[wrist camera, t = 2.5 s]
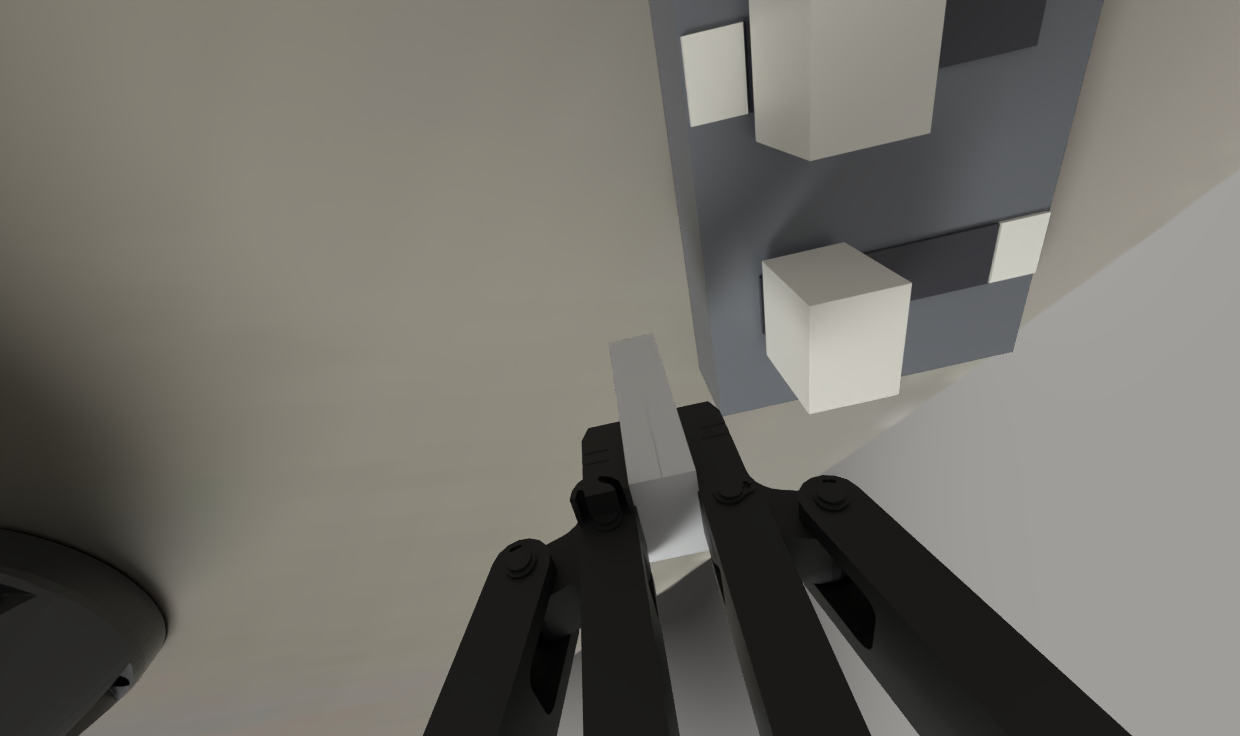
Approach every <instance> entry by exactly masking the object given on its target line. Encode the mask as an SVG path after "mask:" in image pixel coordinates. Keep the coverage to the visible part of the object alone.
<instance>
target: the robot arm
mask: <svg viewBox="0 0 1240 736" xmlns="http://www.w3.org/2000/svg"><path fill="white" fill-rule="evenodd" d="M609 349H610V356H611V363H612V370H613V377H614V384H615V391H616V398H617V406H618V413H619V420H620V422H615V423H610V424H606V425H601V426H596V427H592V428H588V430H587V432H586V434H585V436H584V438H583V440H582V456H583V457H582V465H583V480H581V481H580V482H579V483H578V484H577V485H576V486H575V488H574V489H573V490H572V493H571V497H570V502H571V505H572V508H573V510H574V513H575V516H576V519H577V521H578V523H577V525H576V526H575V527H574V528H573V529H572V530H571V531H570V532H568V533H567V534H565V535H564V536H562V537H560V538H558V539H557V540H555V541H553V542H551V543H549V544H547V545H545V544H544V543H543V542H541V541H540V540H536V539H530V538H529V539H523V540H518V541H516V542H514V543H512V544H510V545H508V546H507V547H506V548H505V549H504V550H503V551H502V552H500V553H499V555H498V556H497V558H496V560H495V561H494V563H493V565H492V567H491V570H490V572H489V575H488V577H487V580H486V582H485V584H484V587H483V589H482V592H481V594H480V597H479V599H478V602H477V604H476V607H475V609H474V611H473V614H472V616H471V619H470V621H469V624H468V626H467V629H466V631H465V634H464V636H463V638H462V641H461V643H460V646H459V648H458V651H457V653H456V656H455V658H454V660H453V663H452V665H451V668H450V670H449V673H448V675H447V678H446V680H445V683H444V685H443V687H442V690H441V692H440V695H439V697H438V700H437V702H436V705H435V707H434V710H433V712H432V714H431V717H430V719H429V722H428V724H427V727H426V729H425V732H424V734H423V736H557V732H558V727H559V723H560V718H561V714H562V709H563V704H564V700H565V695H566V690H567V685H568V681H569V676H570V672H571V667H572V662H573V658H574V653H575V649H576V644H577V639H578V635H579V629H580V628H581V646H582V688H583V689H582V691H583V736H680V734H679V728H678V722H677V716H676V710H675V704H674V698H673V693H672V686H671V680H670V674H669V668H668V662H667V656H666V650H665V644H664V638H663V632H662V627H661V620H660V614H659V608H658V602H657V596H656V590H655V584H654V580H653V576H652V573H651V568H650V562H654V561H659V560H664V559H669V558H673V557H678V556H683V555H688V554H693V553H698V552H702V551H707V550H709V551H710V555H711V559H712V565H713V572H714V578H715V584H716V589H719V592H720V596H721V599H722V603H723V606H724V610H725V613H726V617H727V620H728V624H729V627H730V631H731V635H732V638H733V642H734V645H735V649H736V652H737V656H738V659H739V663H740V667H741V670H742V674H743V677H744V681H745V684H746V688H747V691H748V695H749V698H750V702H751V705H752V709H753V713H754V716H755V720H756V723H757V727H758V730H759V734H760V736H871V734H870V732H869V730H868V728H867V725H866V723H865V721H864V719H863V716H862V714H861V712H860V710H859V708H858V706H857V703H856V701H855V699H854V696H853V694H852V692H851V690H850V688H849V685H848V683H847V681H846V679H845V677H844V674H843V672H842V670H841V667H840V665H839V663H838V661H837V659H836V656H835V654H834V653H833V650H832V647H831V645H830V643H829V641H828V639H827V636H826V634H825V632H824V630H823V627H822V625H821V623H820V621H819V619H818V617H817V614H816V612H815V610H814V607H813V605H812V603H811V601H810V599H809V596H808V594H807V592H806V590H805V587H804V585H805V586H806V588H807V589H808V590H809V592H810V593H811V594H812V595H813V597H814V598H815V599H816V601H817V602H818V603H819V605H820V606H821V607H822V609H823V610H824V611H825V612H826V613H827V615H828V616H829V618H830V619H831V620H832V622H833V623H834V624H835V625H836V627H837V628H838V629H839V631H840V632H841V633H842V635H843V636H844V637H845V638H846V640H847V641H848V643H849V644H850V645H851V646H852V648H853V649H854V650H855V652H856V653H857V654H858V656H859V657H860V658H861V660H862V661H863V662H864V663H865V665H866V666H867V667H868V669H869V670H870V671H871V673H872V674H873V675H874V677H875V678H876V679H877V680H878V682H879V683H880V684H881V686H882V687H883V688H884V690H885V691H886V692H887V693H888V695H889V696H890V697H891V699H892V700H893V701H894V703H895V704H896V705H897V707H898V708H899V709H900V711H901V712H902V713H903V714H904V716H905V717H906V718H907V720H908V721H909V722H910V724H911V725H912V726H913V728H914V729H915V730H916V731H917V733H918V734H919V735H920V736H1132V735H1130V734H1129V733H1128V732H1127V731H1126V730H1125V729H1124V728H1123V727H1122V726H1121V725H1120V724H1118V723H1117V722H1116V721H1115V720H1114V719H1113V718H1112V717H1111V716H1110V715H1108V714H1107V713H1106V712H1105V711H1104V710H1103V709H1102V708H1101V707H1100V706H1099V705H1098V704H1096V703H1095V702H1094V701H1093V700H1092V699H1091V698H1090V697H1089V696H1087V695H1086V694H1085V693H1084V692H1083V691H1082V690H1081V689H1080V688H1079V687H1078V686H1077V685H1076V684H1074V683H1073V682H1072V681H1071V680H1070V679H1069V678H1068V677H1067V676H1066V675H1065V674H1063V673H1062V672H1061V671H1060V670H1059V669H1058V668H1057V667H1056V666H1055V665H1054V664H1052V663H1051V662H1050V661H1049V660H1048V659H1047V658H1046V657H1045V656H1044V655H1043V654H1041V653H1040V652H1039V651H1038V650H1037V649H1036V648H1035V647H1034V646H1032V644H1030V643H1029V642H1028V641H1027V640H1026V639H1025V638H1024V637H1023V636H1022V635H1021V634H1019V633H1018V632H1017V631H1016V630H1015V629H1014V628H1013V627H1012V626H1011V625H1010V624H1008V623H1007V622H1006V621H1005V620H1004V619H1003V618H1002V617H1001V616H1000V615H998V614H997V613H996V612H995V611H994V610H993V609H992V608H991V607H990V606H989V605H988V604H986V603H985V602H984V601H983V600H982V599H981V598H980V597H979V596H978V595H976V594H975V593H974V592H973V591H972V590H971V589H970V588H969V587H968V586H967V585H966V584H964V583H963V582H962V581H961V580H960V579H959V578H958V577H957V576H956V575H954V574H953V573H952V572H951V571H950V570H949V569H948V568H947V567H946V566H944V564H942V563H941V562H940V561H939V560H938V559H937V558H936V557H935V556H934V555H932V554H931V553H930V552H929V551H928V550H927V549H926V548H925V547H924V546H923V545H922V544H920V543H919V542H918V541H917V540H916V539H915V538H914V537H913V536H912V535H911V534H909V533H908V532H907V531H906V530H905V529H904V528H903V527H902V526H901V525H900V524H898V523H897V522H896V521H895V520H894V519H893V518H892V517H891V516H890V515H889V514H887V513H886V512H885V511H884V510H883V509H882V508H881V507H880V506H879V505H878V504H876V503H875V502H874V501H873V500H872V499H871V498H870V497H869V496H868V495H867V494H865V493H864V492H863V491H862V490H861V489H860V488H859V487H858V486H856V485H855V484H853V483H852V482H850V481H849V480H847V479H844V478H841V477H837V476H828V475H821V476H817V477H813V478H810V479H809V480H807V481H806V482H804V483H803V484H802V486H801V488H800V490H799V491H794V490H779V489H772V488H769V487H765V486H763V485H761V484H759V483H757V482H756V481H754V479H752V478H751V477H750V476H749V474H748V473H747V471H746V469H745V467H744V465H743V462H742V460H741V458H740V455H739V453H738V451H737V449H736V446H735V444H734V442H733V440H732V437H731V435H730V433H729V430H728V428H727V426H726V425H725V421H724V419H723V417H722V414H721V412H720V410H719V409H717V408H716V407H715V406H713V405H712V404H711V403H710V402H708V401H707V402H702V403H697V404H693V405H688V406H683V407H679V408H676V406H675V403H674V399H673V396H672V393H671V390H670V387H669V384H668V380H667V377H666V374H665V371H664V368H663V364H662V361H661V358H660V355H659V352H658V348H657V345H656V342H655V339H654V336H653V333H652V334H647V335H643V336H638V337H634V338H629V339H625V340H620V341H616V342H611V343H609ZM802 582H803V583H804V585H803V583H802ZM165 636H166V628H165V623H164V619H163V617H162V614H161V613H160V611H159V609H158V607H157V606H156V605H155V603H154V602H153V601H152V599H151V598H150V597H149V596H148V595H147V594H146V593H145V592H144V591H143V590H142V589H141V588H140V587H138V586H137V585H136V584H135V583H133V582H132V581H131V580H130V579H128V578H127V577H125V576H124V575H122V574H121V573H119V572H118V571H116V570H115V569H113V568H111V567H109V566H108V565H106V564H104V563H102V562H100V561H98V560H96V559H94V558H92V557H90V556H88V555H85V554H83V553H81V552H78V551H76V550H73V549H71V548H68V547H66V546H63V545H60V544H57V543H54V542H51V541H48V540H45V539H41V538H38V537H34V536H30V535H26V534H22V533H18V532H13V531H8V530H3V529H0V736H79V735H80V734H81V733H82V732H84V731H85V730H86V729H87V728H88V727H89V726H90V725H91V724H93V723H94V722H95V721H96V720H97V719H98V718H99V717H101V716H102V715H103V714H104V713H105V712H106V711H107V710H109V709H110V708H111V707H112V706H113V705H114V704H115V703H116V702H117V701H119V700H120V699H121V698H122V697H123V696H124V695H125V694H127V693H128V692H129V691H130V690H131V689H132V688H133V686H134V685H135V684H136V683H137V682H138V681H139V679H140V678H141V676H142V675H143V674H144V672H145V671H146V669H147V668H148V666H149V665H150V664H151V662H152V661H153V659H154V658H155V656H156V655H157V654H158V652H159V651H160V649H161V648H162V646H163V643H164V641H165Z"/></svg>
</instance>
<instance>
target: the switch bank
mask: <svg viewBox="0 0 1240 736" xmlns="http://www.w3.org/2000/svg"><path fill="white" fill-rule="evenodd" d="M1103 1H1104V0H946V8H945V16H944V25H943V33H942V41H941V49H940V57H939V66H938V74H937V82H936V90H935V99H934V107H933V115H932V123H931V132H930V133H929V134H924V135H920V136H916V137H911V138H907V139H903V140H899V141H894V142H890V143H886V144H881V145H877V146H873V147H869V148H864V149H860V150H856V151H851V152H847V153H843V154H839V155H834V156H830V157H826V158H821V159H817V160H813V161H808V160H805V159H803V158H800V157H797V156H794V155H792V154H789V153H786V152H783V151H781V150H778V149H775V148H772V147H770V146H767V145H764V144H761V143H758V142H756V134H755V114H754V95H753V75H752V55H751V36H750V16H749V0H649V4H650V11H651V18H652V26H653V33H654V40H655V48H656V55H657V62H658V69H659V77H660V84H661V91H662V98H663V106H664V113H665V120H666V127H667V135H668V142H669V149H670V156H671V164H672V171H673V178H674V186H675V193H676V200H677V207H678V215H679V222H680V229H681V236H682V244H683V251H684V258H685V265H686V273H687V280H688V287H689V294H690V302H691V309H692V316H693V324H694V331H695V338H696V345H697V353H698V360H699V367H700V371H701V373H702V376H703V378H704V380H705V382H706V384H707V387H708V389H709V391H710V393H711V395H712V397H713V400H714V402H715V404H716V406H717V408H718V409H719V410H720V412H721V414H722V416H727V415H731V414H736V413H740V412H745V411H749V410H753V409H758V408H762V407H767V406H771V405H776V404H780V403H785V402H789V401H794V400H798V398H797V397H796V395H795V394H794V392H793V391H792V390H791V388H790V387H789V385H788V384H787V383H786V381H785V380H784V378H783V377H782V376H781V374H780V373H779V371H778V370H777V369H776V367H775V366H774V364H773V363H772V362H771V360H770V359H769V358H768V356H767V350H766V331H765V311H764V291H763V272H762V261H764V260H768V259H773V258H777V257H781V256H786V255H790V254H795V253H799V252H803V251H808V250H812V249H816V248H821V247H825V246H829V245H834V244H838V243H842V242H845V243H847V244H848V245H850V246H852V247H853V248H855V249H857V250H858V251H860V252H862V253H863V254H865V255H867V256H868V257H870V258H872V259H873V260H875V261H876V262H878V263H880V264H881V265H883V266H885V267H886V268H888V269H890V270H891V271H893V272H895V273H896V274H898V275H900V276H901V277H903V278H905V279H906V280H908V281H909V282H911V283H912V288H911V296H910V304H909V313H908V321H907V329H906V337H905V346H904V354H903V362H902V370H901V376H906V375H910V374H915V373H919V372H924V371H928V370H933V369H937V368H942V367H946V366H951V365H955V364H960V363H964V362H969V361H973V360H978V359H982V358H986V357H991V356H995V355H1000V354H1004V353H1009V352H1013V349H1014V345H1015V341H1016V337H1017V333H1018V330H1019V326H1020V322H1021V318H1022V314H1023V310H1024V306H1025V302H1026V299H1027V295H1028V291H1029V287H1030V283H1031V279H1032V275H1033V273H1035V272H1036V269H1037V265H1038V261H1039V257H1040V253H1041V249H1042V246H1043V242H1044V238H1045V234H1046V230H1047V226H1048V223H1049V219H1050V215H1051V212H1049V210H1050V206H1051V202H1052V198H1053V194H1054V190H1055V186H1056V182H1057V179H1058V175H1059V171H1060V167H1061V163H1062V159H1063V155H1064V151H1065V148H1066V144H1067V140H1068V136H1069V132H1070V128H1071V124H1072V121H1073V117H1074V113H1075V109H1076V105H1077V101H1078V97H1079V93H1080V90H1081V86H1082V82H1083V78H1084V74H1085V70H1086V66H1087V62H1088V59H1089V55H1090V51H1091V47H1092V43H1093V39H1094V35H1095V31H1096V28H1097V24H1098V20H1099V16H1100V12H1101V8H1102V4H1103Z"/></svg>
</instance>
